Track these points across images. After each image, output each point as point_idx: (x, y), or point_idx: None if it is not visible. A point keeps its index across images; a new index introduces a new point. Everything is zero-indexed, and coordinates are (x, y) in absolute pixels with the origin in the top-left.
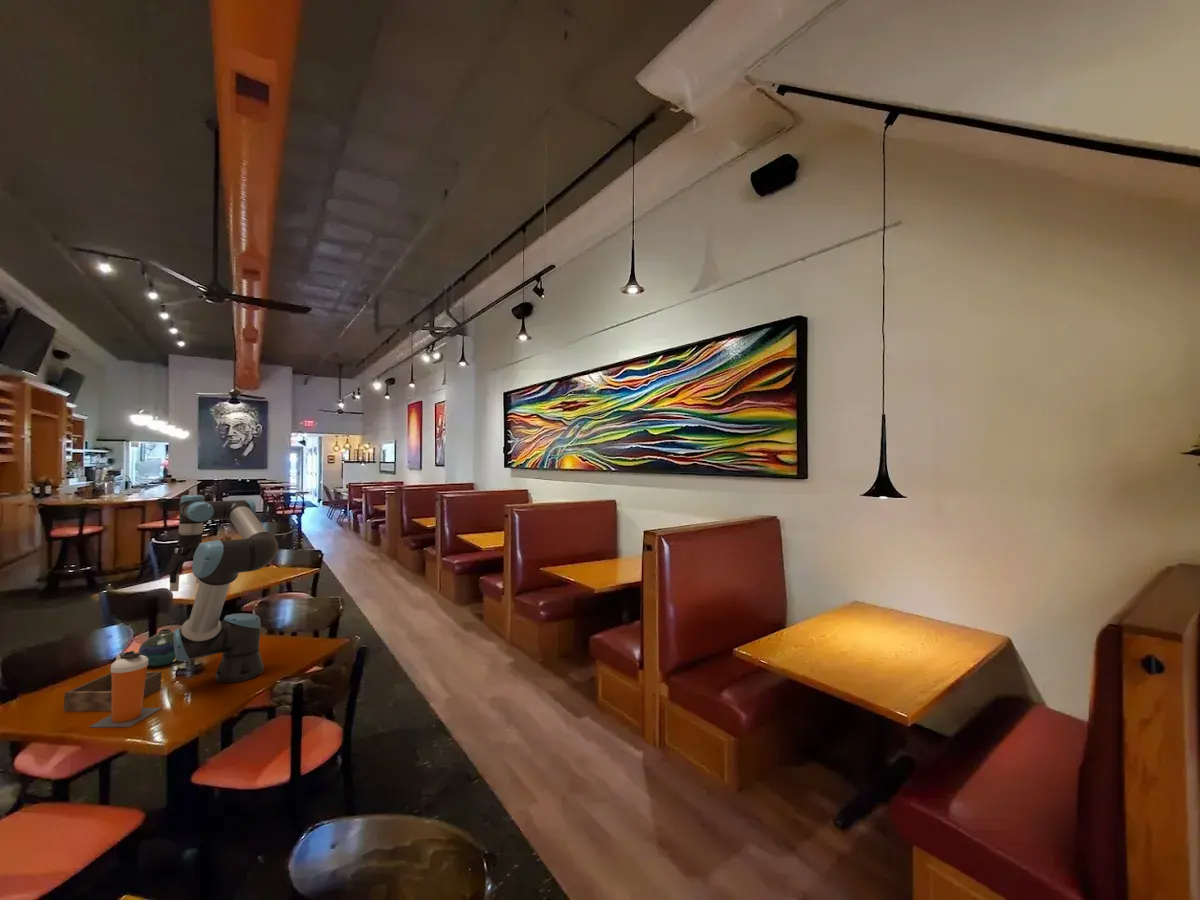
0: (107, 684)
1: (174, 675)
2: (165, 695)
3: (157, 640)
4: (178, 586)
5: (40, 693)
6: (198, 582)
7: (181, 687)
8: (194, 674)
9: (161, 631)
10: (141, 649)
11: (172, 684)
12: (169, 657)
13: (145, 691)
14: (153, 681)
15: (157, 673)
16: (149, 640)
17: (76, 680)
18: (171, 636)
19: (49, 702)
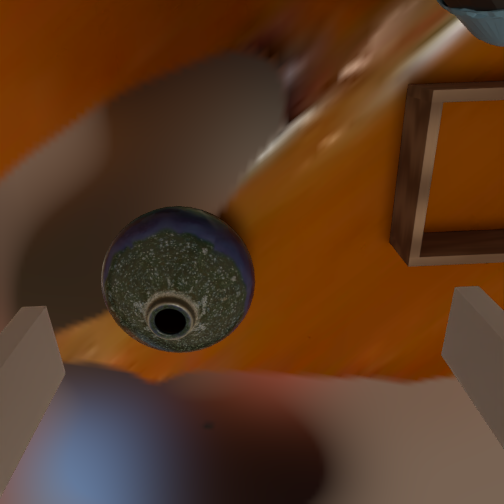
0: (423, 242)
1: (291, 128)
2: None
3: (223, 295)
4: (487, 317)
5: (400, 376)
6: (55, 358)
7: (408, 5)
8: (282, 56)
9: (170, 332)
10: (244, 316)
11: (375, 67)
12: (220, 219)
13: (483, 83)
14: (460, 86)
15: (451, 91)
16: (221, 325)
17: (322, 369)
18: (183, 273)
19: None
